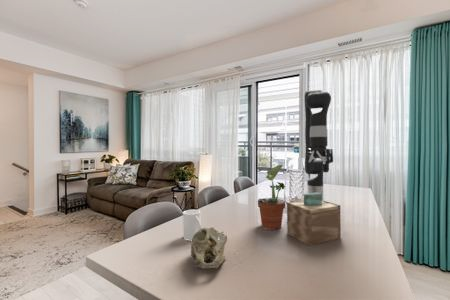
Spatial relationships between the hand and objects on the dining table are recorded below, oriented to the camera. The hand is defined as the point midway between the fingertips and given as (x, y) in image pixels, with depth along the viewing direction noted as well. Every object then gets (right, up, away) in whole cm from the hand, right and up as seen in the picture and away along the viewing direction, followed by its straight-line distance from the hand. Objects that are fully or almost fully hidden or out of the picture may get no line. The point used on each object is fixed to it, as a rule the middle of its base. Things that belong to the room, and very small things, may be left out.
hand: (318, 171), depth 102 cm
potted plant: (-19, -30, +15) cm, 39 cm away
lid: (-2, -17, +1) cm, 17 cm away
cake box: (-2, -30, +1) cm, 30 cm away
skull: (-50, -32, -20) cm, 62 cm away
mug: (-58, -31, 0) cm, 66 cm away
